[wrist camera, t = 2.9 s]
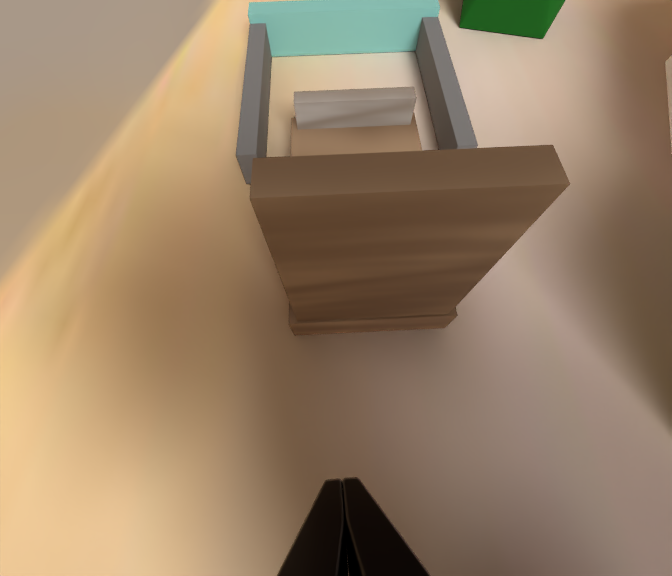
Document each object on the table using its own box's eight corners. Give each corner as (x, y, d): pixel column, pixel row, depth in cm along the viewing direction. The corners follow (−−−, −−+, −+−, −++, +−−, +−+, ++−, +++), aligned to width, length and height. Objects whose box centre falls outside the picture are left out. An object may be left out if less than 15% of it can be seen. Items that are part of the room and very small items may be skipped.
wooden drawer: (443, 328, 17) (589, 186, 7) (294, 336, 17) (231, 202, 7) (407, 140, 23) (460, -87, 13) (295, 145, 23) (261, -79, 13)
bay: (463, 174, 21) (481, 136, 19) (246, 183, 21) (232, 147, 18) (426, 39, 27) (436, -5, 25) (258, 45, 27) (249, 2, 24)
